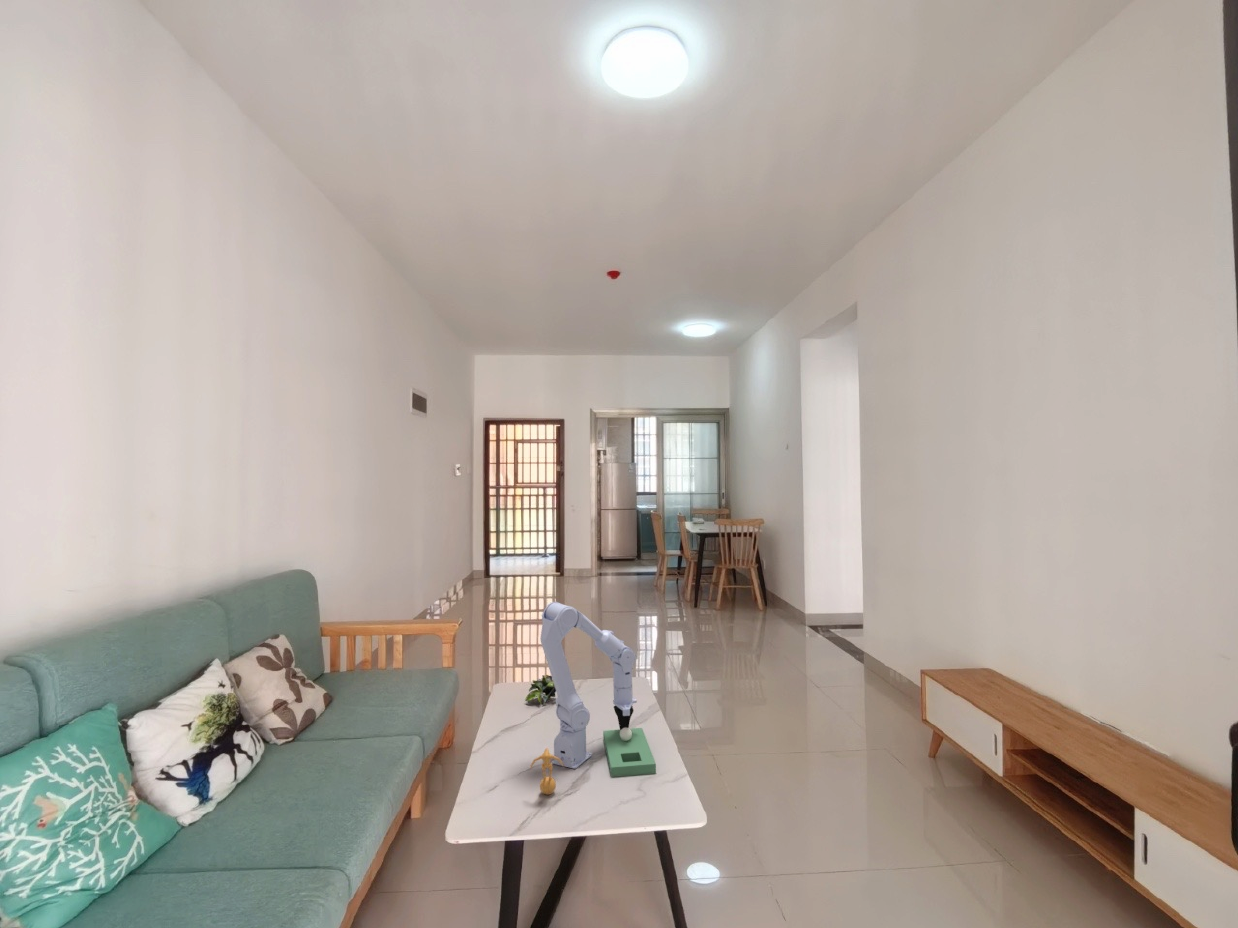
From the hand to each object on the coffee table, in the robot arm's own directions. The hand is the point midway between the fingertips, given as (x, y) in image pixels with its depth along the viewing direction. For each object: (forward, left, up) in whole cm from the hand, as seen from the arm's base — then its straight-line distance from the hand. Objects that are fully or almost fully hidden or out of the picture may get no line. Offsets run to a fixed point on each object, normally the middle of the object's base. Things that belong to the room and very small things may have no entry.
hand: (624, 731), depth 178 cm
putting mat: (-7, -5, -3) cm, 9 cm away
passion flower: (+18, +42, -4) cm, 46 cm away
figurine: (-35, +3, -4) cm, 35 cm away
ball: (-3, -3, +1) cm, 4 cm away
